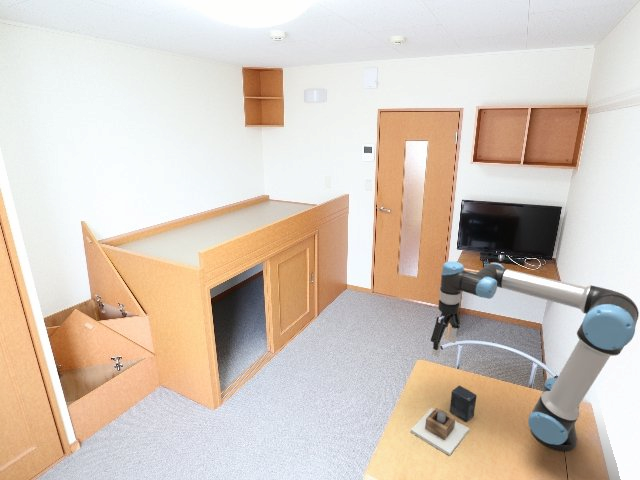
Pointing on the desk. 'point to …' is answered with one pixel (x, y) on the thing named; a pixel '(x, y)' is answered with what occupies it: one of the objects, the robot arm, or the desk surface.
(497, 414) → the desk surface
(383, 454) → the desk surface
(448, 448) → the thin white baseboard
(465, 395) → the box
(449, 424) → the collar
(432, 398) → the desk surface
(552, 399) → the robot arm
